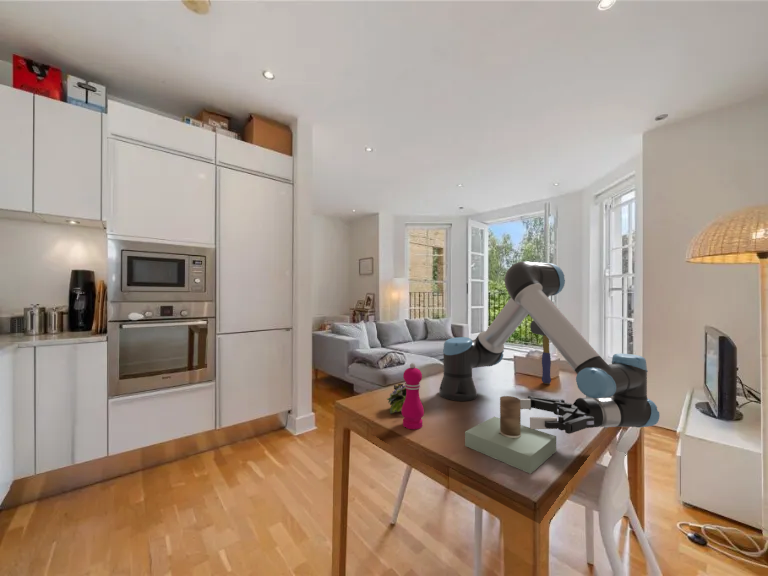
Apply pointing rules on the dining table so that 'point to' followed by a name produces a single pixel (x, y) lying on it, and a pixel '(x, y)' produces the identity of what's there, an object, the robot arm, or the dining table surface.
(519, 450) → the sage board
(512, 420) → the walnut peg
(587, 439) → the dining table surface
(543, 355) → the rubber mallet
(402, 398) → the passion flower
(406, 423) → the pepper mill
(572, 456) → the dining table surface
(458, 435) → the dining table surface
